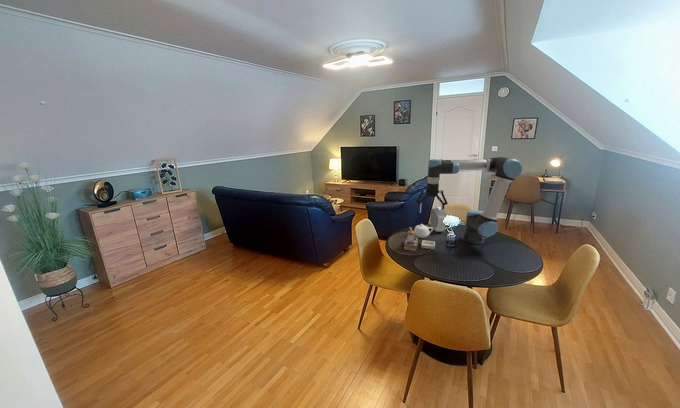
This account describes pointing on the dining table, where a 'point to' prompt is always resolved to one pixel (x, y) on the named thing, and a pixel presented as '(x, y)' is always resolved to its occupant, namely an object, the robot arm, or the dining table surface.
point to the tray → (428, 244)
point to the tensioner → (411, 246)
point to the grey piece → (437, 219)
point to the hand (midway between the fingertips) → (430, 213)
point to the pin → (410, 236)
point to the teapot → (422, 231)
